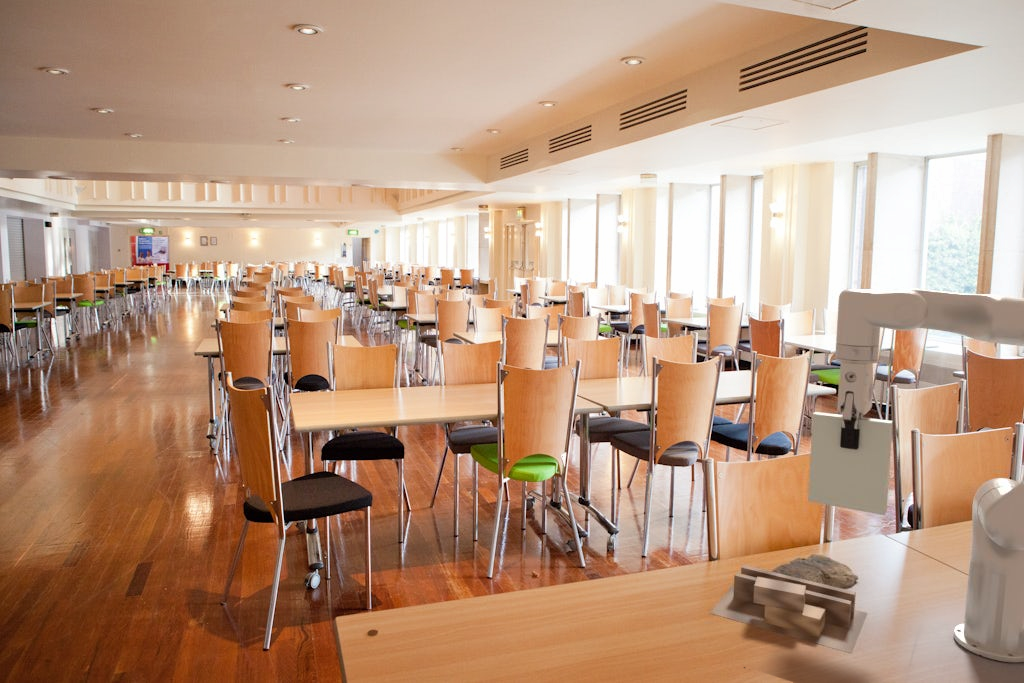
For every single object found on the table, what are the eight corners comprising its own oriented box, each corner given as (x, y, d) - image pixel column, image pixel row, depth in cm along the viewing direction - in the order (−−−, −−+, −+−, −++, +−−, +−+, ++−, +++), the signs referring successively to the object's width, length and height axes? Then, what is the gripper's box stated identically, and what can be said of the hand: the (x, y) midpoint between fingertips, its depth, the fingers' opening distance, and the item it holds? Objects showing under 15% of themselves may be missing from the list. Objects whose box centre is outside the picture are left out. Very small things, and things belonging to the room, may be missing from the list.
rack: (867, 620, 149) (869, 589, 148) (850, 661, 134) (853, 626, 133) (736, 586, 163) (738, 558, 162) (709, 620, 148) (710, 589, 148)
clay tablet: (795, 606, 155) (867, 589, 163) (796, 584, 155) (868, 567, 162) (749, 580, 168) (818, 565, 176) (750, 559, 168) (819, 545, 175)
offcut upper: (804, 602, 145) (805, 585, 145) (802, 612, 141) (803, 595, 141) (756, 593, 149) (757, 576, 149) (753, 602, 145) (754, 585, 145)
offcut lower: (824, 626, 143) (825, 608, 143) (818, 637, 139) (819, 619, 139) (771, 611, 149) (772, 595, 149) (764, 622, 145) (765, 605, 144)
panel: (886, 511, 145) (892, 420, 143) (884, 515, 143) (891, 423, 141) (810, 498, 153) (815, 411, 151) (807, 501, 151) (812, 413, 149)
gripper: (871, 360, 135) (864, 459, 138) (884, 350, 149) (878, 440, 151) (827, 356, 140) (821, 452, 142) (843, 347, 153) (838, 435, 155)
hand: (850, 445), depth 146 cm, fingers closed on panel, 2 cm apart
